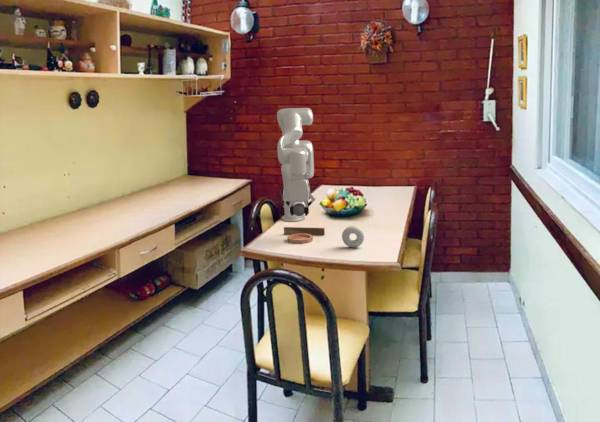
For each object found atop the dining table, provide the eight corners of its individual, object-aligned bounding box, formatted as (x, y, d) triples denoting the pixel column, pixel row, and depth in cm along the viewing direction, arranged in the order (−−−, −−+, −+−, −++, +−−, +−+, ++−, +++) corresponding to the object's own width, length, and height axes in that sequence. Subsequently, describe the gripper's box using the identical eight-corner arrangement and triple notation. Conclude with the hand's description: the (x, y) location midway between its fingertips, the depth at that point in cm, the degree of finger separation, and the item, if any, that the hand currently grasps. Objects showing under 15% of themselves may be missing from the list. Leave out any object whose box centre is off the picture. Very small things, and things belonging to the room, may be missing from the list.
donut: (341, 248, 249) (341, 226, 247) (342, 246, 252) (342, 224, 250) (363, 249, 247) (363, 227, 245) (364, 246, 250) (364, 225, 248)
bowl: (290, 236, 270) (290, 233, 270) (314, 237, 268) (314, 233, 267) (285, 243, 259) (285, 239, 259) (310, 244, 257) (309, 240, 256)
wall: (284, 233, 275) (284, 227, 275) (324, 234, 272) (324, 227, 271) (284, 234, 274) (283, 227, 274) (324, 235, 270) (324, 228, 270)
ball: (294, 214, 264) (294, 202, 263) (307, 214, 263) (306, 202, 261) (291, 217, 258) (291, 204, 257) (304, 217, 257) (304, 204, 256)
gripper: (318, 175, 258) (319, 213, 262) (281, 175, 262) (283, 213, 266) (315, 178, 251) (316, 217, 255) (278, 178, 255) (279, 216, 259)
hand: (299, 214), depth 260 cm, fingers closed on ball, 5 cm apart
